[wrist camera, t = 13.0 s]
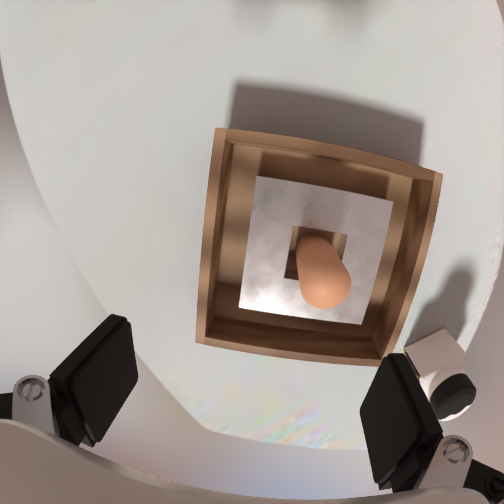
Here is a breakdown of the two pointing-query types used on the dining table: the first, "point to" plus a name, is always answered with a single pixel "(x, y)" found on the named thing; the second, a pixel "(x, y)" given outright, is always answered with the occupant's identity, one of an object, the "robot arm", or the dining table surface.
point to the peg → (321, 272)
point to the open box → (237, 229)
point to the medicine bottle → (442, 374)
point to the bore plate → (317, 217)
